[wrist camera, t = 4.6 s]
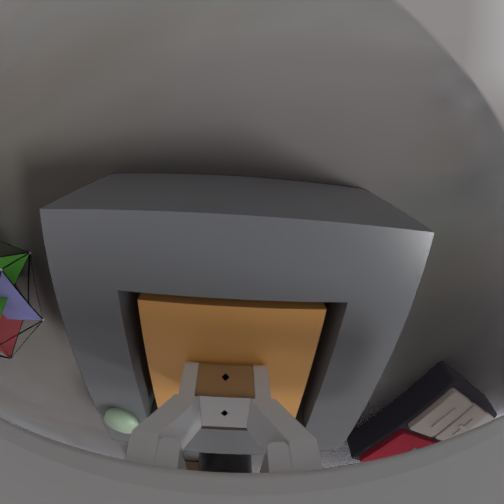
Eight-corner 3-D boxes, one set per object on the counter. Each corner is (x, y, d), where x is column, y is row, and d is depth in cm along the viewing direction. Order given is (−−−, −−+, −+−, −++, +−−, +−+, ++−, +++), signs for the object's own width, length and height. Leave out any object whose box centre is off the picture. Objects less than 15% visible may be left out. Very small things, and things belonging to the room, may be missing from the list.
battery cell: (252, 423, 20) (259, 537, 11) (248, 446, 22) (253, 545, 13) (199, 420, 20) (190, 535, 11) (201, 444, 22) (195, 543, 13)
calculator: (459, 387, 16) (500, 419, 19) (436, 352, 20) (485, 395, 23) (351, 465, 19) (425, 476, 23) (342, 428, 23) (415, 450, 27)
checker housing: (364, 188, 13) (441, 237, 8) (319, 373, 18) (342, 454, 12) (112, 173, 13) (32, 213, 7) (136, 364, 17) (110, 444, 12)
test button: (308, 267, 12) (326, 309, 9) (287, 372, 14) (295, 418, 12) (158, 259, 12) (137, 299, 9) (169, 366, 14) (158, 412, 11)
